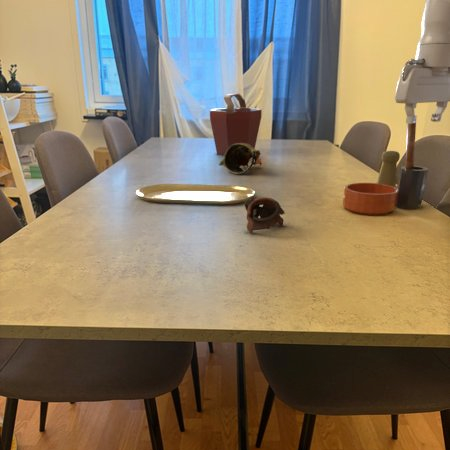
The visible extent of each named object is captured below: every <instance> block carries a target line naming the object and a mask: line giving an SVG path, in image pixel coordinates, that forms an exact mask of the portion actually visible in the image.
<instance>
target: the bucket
mask: <svg viewBox="0 0 450 450" xmlns="http://www.w3.org/2000/svg"><path fill="white" fill-rule="evenodd" d="M233 97H235V100H237V101H238V104H239V107H235V103H234V102H233V100H232V98H233ZM223 100H224V102H225V104H226V105H227V106H226V107H224V108H212V109H210V110H209V120H210V125H211V131H212V136H213V140H214V146H215V151H216V155H217V156H223V157H224V155H225V152H226V151H227V149H228V148H229V147H230V146H231V145H232V144H235V143H246V144H249V145H251V146H252V147H253V148H254V149H255V150H256V144H257V140H258V135H259V130H260V125H261V121H262V113H263V112H262V109H261V108H253V107H247V103H246V100H245V98H243V96H242V95H241V94H240V93H235V92H231V93H227V94H226V95H224V96H223Z"/></svg>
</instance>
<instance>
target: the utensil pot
mask: <svg viewBox="0 0 450 450" xmlns="http://www.w3.org/2000/svg"><path fill="white" fill-rule="evenodd" d="M405 167H406V165H403V166H400V168H399V173H398V179H397V183H396V188H397V189H399V193H398V199H397V204H396V208H400V209H404V210H419V209H420V208H421V207H422V203H423V198H424V193H425V188H426V183H427V178H428V175H429V168H428V167H425V166H420V165H414V170H412V169H406V168H405Z"/></svg>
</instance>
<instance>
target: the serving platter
mask: <svg viewBox="0 0 450 450" xmlns="http://www.w3.org/2000/svg"><path fill="white" fill-rule="evenodd" d="M255 193H256V192H255V190H254V189H252V188H249V187H247V186H246V187H245V186H240V185H232V184H197V183H196V184H193V183H161V184H153V185H147V186H143V187H140V188H139V189H137V190H136V192H135V194H136V196H137V197H138V198H140V199H141V200H143V201H147V202H150V203H161V204H185V205H186V204H190V205H221V206H224V205H235V204H241V203H245V202H246V201H247V200H248V199H253V197H254V196H255Z"/></svg>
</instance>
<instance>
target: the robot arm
mask: <svg viewBox="0 0 450 450" xmlns="http://www.w3.org/2000/svg"><path fill="white" fill-rule="evenodd" d="M420 34H421V35H420V38H419V40H418V43H417V48H416V53H415V58H410V59H408V61H406V62H405V64H403V66H402V71H401V73H400V74H399V78H398V81H397V86H396V90H395V94H394V101H395V103H396V104H404V111H405V114H406V118H405V123H406V125H407V124H413V123H415V122H416V123H417V119H418V116H417V115H416V114H415V109H416V108H417V104H425V103H426V104H427V103H436V105H435V106H436V108H435V111H434V113H432V114H431V119H430V121H431V122H432V123H433V122H434V123H437V122H441V120H442V116H443V114H444V112H445V110H446V109H447V107H448V103H449V102H450V0H425V4H424V9H423V13H422V19H421V33H420Z"/></svg>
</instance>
